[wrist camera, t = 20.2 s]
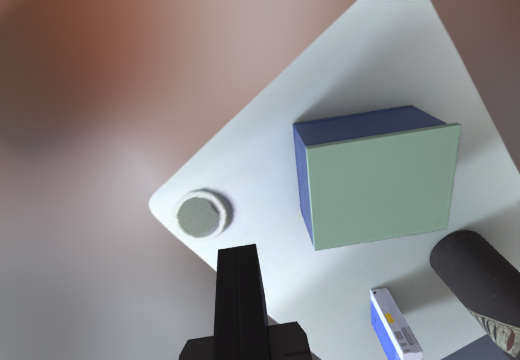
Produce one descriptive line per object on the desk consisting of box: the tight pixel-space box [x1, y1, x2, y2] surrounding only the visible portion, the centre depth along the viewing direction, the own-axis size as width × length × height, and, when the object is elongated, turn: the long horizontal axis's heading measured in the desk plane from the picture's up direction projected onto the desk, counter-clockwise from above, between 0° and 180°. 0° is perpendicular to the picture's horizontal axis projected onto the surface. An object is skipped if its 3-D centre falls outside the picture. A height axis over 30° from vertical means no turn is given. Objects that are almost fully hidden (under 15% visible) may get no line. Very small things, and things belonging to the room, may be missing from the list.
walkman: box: [371, 288, 423, 360], centre depth 51 cm, size 8×3×12 cm, turn 10°
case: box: [293, 105, 447, 244], centre depth 41 cm, size 15×13×8 cm
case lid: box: [305, 122, 461, 251], centre depth 37 cm, size 16×13×1 cm
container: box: [430, 231, 520, 360], centre depth 44 cm, size 9×9×20 cm
